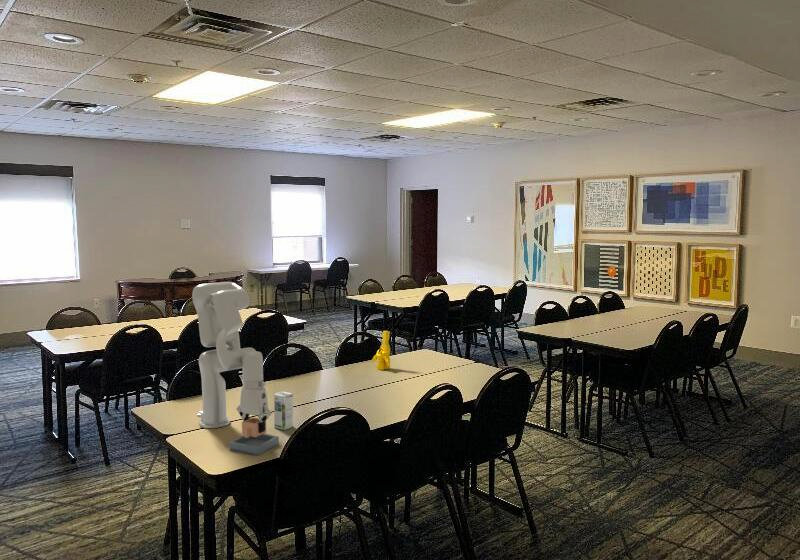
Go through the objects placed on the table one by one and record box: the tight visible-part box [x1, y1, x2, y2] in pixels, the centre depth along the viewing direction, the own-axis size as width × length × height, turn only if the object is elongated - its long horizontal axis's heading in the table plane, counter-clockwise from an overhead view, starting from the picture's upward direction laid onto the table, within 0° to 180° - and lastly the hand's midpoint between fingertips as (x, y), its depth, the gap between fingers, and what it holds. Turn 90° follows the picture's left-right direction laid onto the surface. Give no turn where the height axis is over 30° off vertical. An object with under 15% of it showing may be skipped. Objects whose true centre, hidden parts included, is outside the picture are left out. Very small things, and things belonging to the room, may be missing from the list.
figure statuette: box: [370, 330, 391, 371], centre depth 352 cm, size 18×8×22 cm, turn 39°
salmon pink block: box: [241, 416, 267, 438], centre depth 230 cm, size 8×6×5 cm
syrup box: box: [273, 391, 294, 431], centre depth 253 cm, size 6×6×14 cm
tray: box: [228, 433, 280, 457], centre depth 232 cm, size 13×13×3 cm
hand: (254, 430), depth 231 cm, fingers closed on salmon pink block, 6 cm apart
